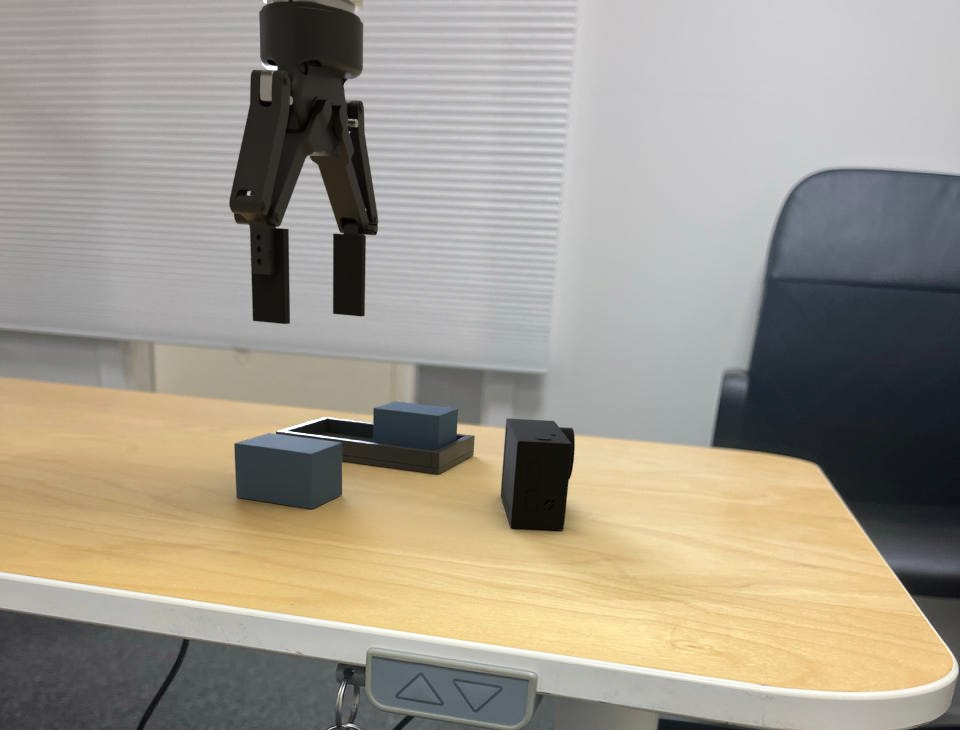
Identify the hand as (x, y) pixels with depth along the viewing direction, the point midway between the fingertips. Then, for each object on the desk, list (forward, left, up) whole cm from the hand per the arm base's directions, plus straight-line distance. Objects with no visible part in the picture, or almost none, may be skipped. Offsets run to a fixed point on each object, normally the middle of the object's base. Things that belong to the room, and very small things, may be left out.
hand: (313, 319), depth 75 cm
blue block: (+3, +17, -14) cm, 21 cm away
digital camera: (+20, +3, -14) cm, 24 cm away
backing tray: (-1, +17, -14) cm, 22 cm away
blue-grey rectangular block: (0, -3, -14) cm, 15 cm away
